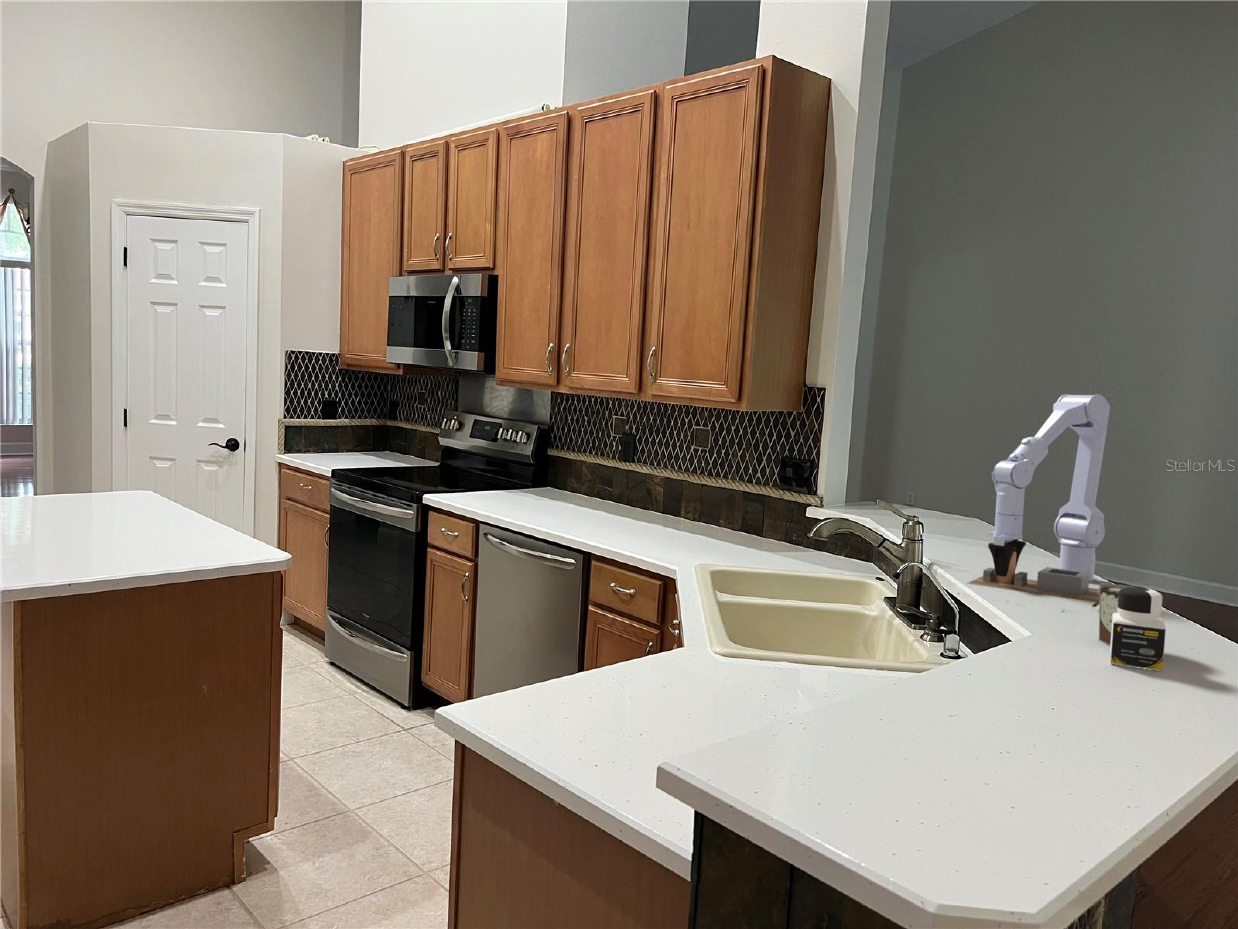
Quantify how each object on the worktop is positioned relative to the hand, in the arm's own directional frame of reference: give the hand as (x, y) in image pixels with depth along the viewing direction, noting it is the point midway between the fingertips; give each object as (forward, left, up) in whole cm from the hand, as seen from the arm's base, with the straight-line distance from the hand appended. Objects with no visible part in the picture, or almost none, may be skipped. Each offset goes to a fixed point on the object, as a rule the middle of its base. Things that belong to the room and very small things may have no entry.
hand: (1005, 574), depth 205 cm
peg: (0, 0, -2) cm, 2 cm away
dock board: (0, +7, -3) cm, 8 cm away
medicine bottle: (+51, +33, -3) cm, 61 cm away
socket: (0, +12, -3) cm, 12 cm away
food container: (+41, +31, -3) cm, 51 cm away
